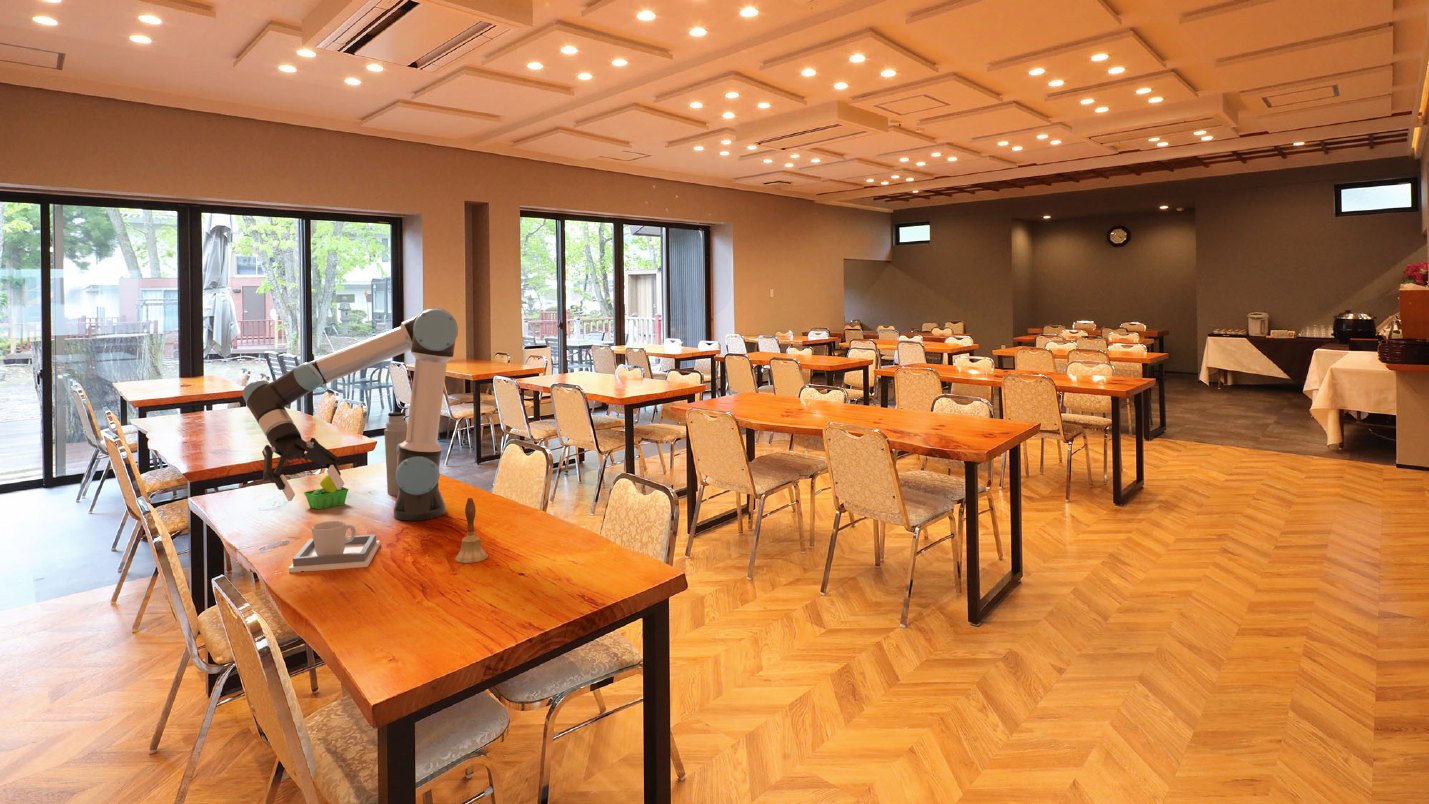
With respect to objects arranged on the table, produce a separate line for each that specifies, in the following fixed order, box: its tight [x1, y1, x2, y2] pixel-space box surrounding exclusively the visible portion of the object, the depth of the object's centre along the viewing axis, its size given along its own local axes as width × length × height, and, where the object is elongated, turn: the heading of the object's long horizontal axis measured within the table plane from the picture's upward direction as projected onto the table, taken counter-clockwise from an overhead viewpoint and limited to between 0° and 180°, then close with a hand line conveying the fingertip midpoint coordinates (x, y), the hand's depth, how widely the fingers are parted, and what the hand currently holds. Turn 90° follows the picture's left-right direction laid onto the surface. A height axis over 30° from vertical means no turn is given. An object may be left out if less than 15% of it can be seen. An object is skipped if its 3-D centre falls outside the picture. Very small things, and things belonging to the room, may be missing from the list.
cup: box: [311, 520, 357, 556], centre depth 200 cm, size 11×8×8 cm
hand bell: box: [454, 497, 489, 564], centre depth 200 cm, size 8×8×16 cm
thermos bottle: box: [383, 411, 408, 496], centre depth 266 cm, size 8×8×28 cm
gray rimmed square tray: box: [288, 533, 381, 573], centre depth 201 cm, size 18×18×3 cm
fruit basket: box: [303, 473, 350, 510], centre depth 249 cm, size 11×9×11 cm
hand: (317, 492), depth 202 cm, fingers open, 13 cm apart
